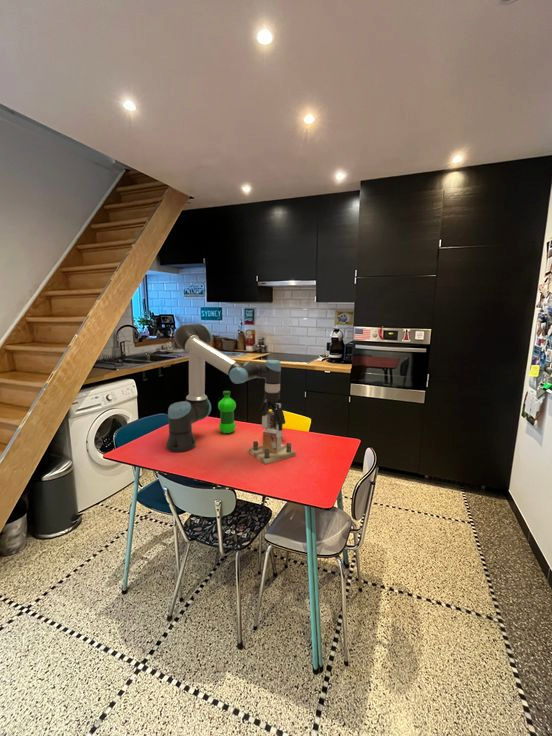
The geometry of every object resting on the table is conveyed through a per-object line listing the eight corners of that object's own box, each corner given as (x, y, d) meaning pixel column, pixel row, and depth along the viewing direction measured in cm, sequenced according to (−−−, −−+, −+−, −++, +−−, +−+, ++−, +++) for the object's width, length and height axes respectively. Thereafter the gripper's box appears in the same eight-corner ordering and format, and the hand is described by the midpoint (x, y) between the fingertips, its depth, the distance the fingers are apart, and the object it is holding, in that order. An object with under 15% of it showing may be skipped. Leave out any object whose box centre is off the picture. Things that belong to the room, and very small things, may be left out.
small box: (262, 451, 170) (262, 431, 168) (266, 447, 175) (267, 427, 173) (277, 453, 167) (277, 433, 165) (281, 449, 172) (281, 430, 170)
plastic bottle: (215, 432, 201) (214, 391, 197) (229, 427, 208) (229, 388, 204) (224, 436, 194) (224, 394, 190) (239, 432, 201) (239, 391, 197)
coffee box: (282, 438, 193) (282, 411, 190) (281, 442, 186) (281, 414, 183) (266, 437, 194) (266, 410, 191) (265, 441, 187) (265, 414, 184)
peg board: (249, 452, 173) (248, 441, 172) (277, 445, 183) (278, 434, 182) (265, 464, 160) (265, 452, 159) (295, 455, 170) (295, 444, 169)
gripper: (293, 396, 158) (292, 438, 162) (265, 385, 178) (264, 423, 182) (280, 398, 154) (279, 442, 157) (253, 386, 174) (252, 425, 178)
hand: (271, 432), depth 170 cm, fingers open, 13 cm apart
